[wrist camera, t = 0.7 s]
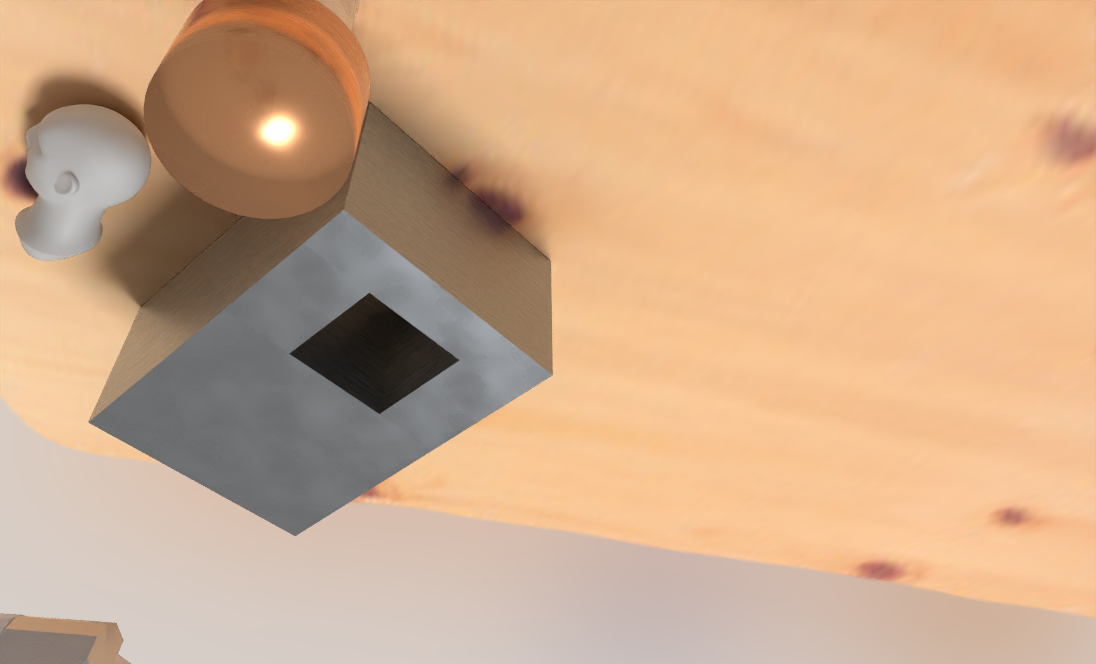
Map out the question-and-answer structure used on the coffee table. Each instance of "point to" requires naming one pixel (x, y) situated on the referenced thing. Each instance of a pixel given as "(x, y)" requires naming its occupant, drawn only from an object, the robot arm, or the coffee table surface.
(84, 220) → the mannequin head
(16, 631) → the robot arm
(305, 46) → the pin
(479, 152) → the coffee table surface
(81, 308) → the coffee table surface
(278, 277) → the block
